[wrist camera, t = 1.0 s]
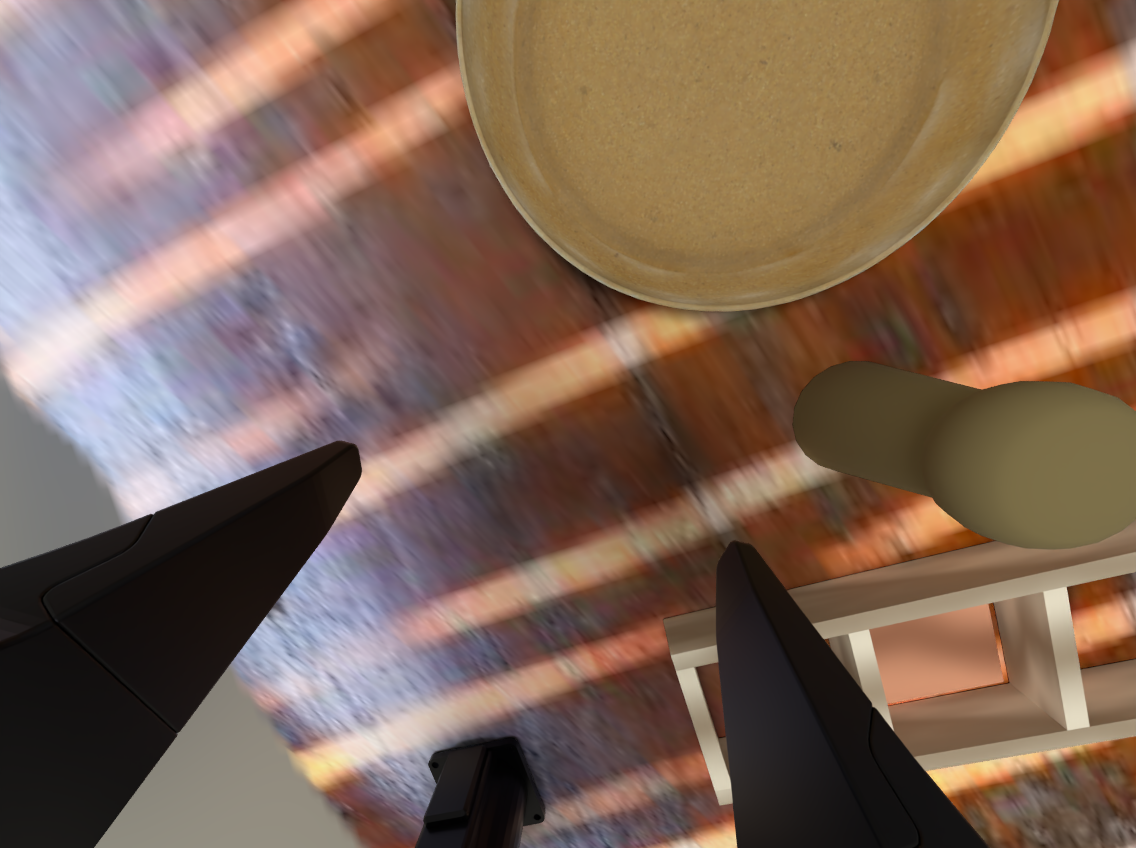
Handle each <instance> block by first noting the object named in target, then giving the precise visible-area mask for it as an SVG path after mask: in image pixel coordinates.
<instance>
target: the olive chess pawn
mask: <svg viewBox="0 0 1136 848" xmlns="http://www.w3.org/2000/svg"><path fill="white" fill-rule="evenodd" d="M793 428H794V433H795V437H796V441H797V443H798V444H799V446H800V447H801V449H802V450H803V452H804V453H805V455H806V456H808V457H809V458H810V459H812V460H813V461H814V462H816V463H817V464H818V465H820V466H823V467H826V468H829V469H832V470H835V471H838V472H842V473H846V474H849V475H853V476H857V477H860V478H864V479H867V480H871V481H875V482H878V483H882V484H885V485H889V486H893V487H896V488H900V489H903V490H907V491H911V492H914V493H918V494H921V495H925V496H929V497H932V498H933V499H934V501H935V503H936V504H937V505H938V506H939V507H941V508H942V509H943V510H944V511H945V512H946V513H947V514H949V515H950V516H951V517H952V518H954V519H955V520H956V521H958V522H959V523H960V524H962V525H963V526H964V527H966V528H968V529H970V530H972V531H974V532H976V533H977V534H979V535H982V536H984V537H987V538H990V539H993V540H996V541H999V542H1002V543H1005V544H1008V545H1013V546H1017V547H1021V548H1029V549H1050V550H1055V549H1071V548H1076V547H1081V546H1085V545H1090V544H1095V543H1098V542H1100V541H1103V540H1105V539H1107V538H1109V537H1111V536H1113V535H1115V534H1117V533H1119V532H1121V531H1123V530H1124V529H1125V528H1126V527H1128V526H1129V525H1130V524H1131V523H1132V522H1133V521H1135V520H1136V411H1134V410H1133V409H1132V408H1131V407H1129V406H1128V405H1127V404H1125V403H1124V402H1123V401H1122V400H1120V399H1119V398H1117V397H1114V396H1111V395H1108V394H1105V393H1102V392H1099V391H1096V390H1093V389H1090V388H1087V387H1083V386H1080V385H1077V384H1074V383H1066V382H1039V381H1019V382H1013V383H1008V384H1002V385H998V386H994V387H991V388H987V389H983V390H981V389H977V388H973V387H969V386H965V385H961V384H957V383H953V382H949V381H945V380H941V379H937V378H933V377H929V376H925V375H921V374H917V373H913V372H909V371H905V370H901V369H897V368H893V367H889V366H885V365H881V364H877V363H873V362H869V361H849V362H845V363H842V364H838V365H835V366H831V367H829V368H828V369H826V370H825V371H823V372H822V373H820V374H818V375H817V376H815V377H814V378H813V379H812V380H811V381H810V383H809V384H808V385H807V386H806V387H805V388H804V389H803V391H802V392H801V394H800V397H799V399H798V401H797V403H796V405H795V408H794V417H793Z"/></svg>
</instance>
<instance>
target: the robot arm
mask: <svg viewBox="0 0 1136 848" xmlns="http://www.w3.org/2000/svg"><path fill="white" fill-rule="evenodd" d="M361 473H362V467H361V461H360V455H359V450H358V447H357V446H356V445H355V444H353V443H349V442H345V441H335V442H333V443H330V444H328V445H325V446H323V447H320V448H317V449H315V450H312V451H310V452H307V453H305V454H302V455H300V456H297V457H295V458H292V459H289V460H287V461H284V462H282V463H279V464H277V465H274V466H272V467H269V468H267V469H264V470H261V471H259V472H256V473H254V474H251V475H249V476H246V477H244V478H241V479H239V480H236V481H233V482H231V483H228V484H226V485H223V486H221V487H218V488H216V489H213V490H211V491H208V492H205V493H203V494H200V495H198V496H195V497H193V498H190V499H188V500H185V501H182V502H180V503H177V504H175V505H172V506H170V507H167V508H165V509H162V510H160V511H157V512H155V513H154V515H153V514H149V515H147V516H144V517H142V518H139V519H136V520H134V521H131V522H129V523H126V524H124V525H121V526H119V527H116V528H113V529H110V530H108V531H105V532H103V533H100V534H97V535H94V536H92V537H89V538H87V539H84V540H81V541H78V542H75V543H72V544H69V545H66V546H63V547H61V548H58V549H55V550H52V551H49V552H46V553H44V554H40V555H37V556H34V557H31V558H28V559H26V560H23V561H20V562H17V563H14V564H11V565H8V566H5V567H2V568H0V848H94V847H95V846H96V844H97V843H98V842H99V840H100V839H101V838H102V836H103V835H104V834H105V832H106V831H107V830H108V828H109V827H110V825H111V824H112V823H113V821H114V820H115V819H116V817H117V816H118V815H119V813H120V812H121V811H122V809H123V808H124V807H125V805H126V804H127V803H128V801H129V800H130V799H131V797H132V796H133V795H134V793H135V792H136V791H137V789H138V788H139V786H140V785H141V784H142V783H143V781H144V780H145V778H146V777H147V776H148V774H149V773H150V772H151V770H152V769H153V768H154V766H155V765H156V763H157V762H158V761H159V760H160V758H161V757H162V756H163V754H164V753H165V752H166V750H167V749H168V748H169V746H170V745H171V743H172V742H173V741H174V739H175V738H176V737H177V735H178V734H177V733H178V732H180V731H181V729H182V728H183V727H184V726H185V724H186V723H187V722H188V720H189V719H190V717H191V716H192V715H193V713H194V712H195V711H196V709H197V708H198V707H199V705H200V704H201V703H202V701H203V700H204V699H205V697H206V696H207V695H208V693H209V692H210V691H211V689H212V688H213V686H214V685H215V684H216V683H217V681H218V680H219V678H220V677H221V676H222V674H223V673H224V672H225V670H226V669H227V668H228V666H229V665H230V664H231V662H232V661H233V660H234V658H235V657H236V656H237V654H238V653H239V652H240V650H241V649H242V648H243V646H244V645H245V644H246V642H247V641H248V639H249V638H250V637H251V635H252V634H253V633H254V631H255V630H256V629H257V627H258V626H259V625H260V623H261V622H262V621H263V619H264V618H265V617H266V615H267V614H268V613H269V611H270V610H271V609H272V607H273V606H274V605H275V603H276V602H277V601H278V599H279V598H280V596H281V595H282V594H283V592H284V591H285V590H286V588H287V587H288V586H289V584H290V583H291V582H292V580H293V579H294V578H295V576H296V575H297V574H298V572H299V571H300V570H301V568H302V567H303V566H304V564H305V563H306V562H307V560H308V559H309V557H310V556H311V555H312V553H313V552H314V551H315V549H316V548H317V547H318V545H319V544H320V543H321V541H322V540H323V539H324V537H325V536H326V534H327V533H328V531H329V530H330V528H331V527H332V525H333V523H334V522H335V520H336V518H337V517H338V515H339V513H340V511H341V510H342V508H343V506H344V505H345V503H346V501H347V500H348V498H349V496H350V495H351V493H352V491H353V489H354V488H355V486H356V484H357V483H358V481H359V479H360V477H361ZM716 644H717V654H718V664H719V674H720V683H721V693H722V703H723V713H724V722H725V732H726V742H727V751H728V761H729V771H730V781H731V790H732V800H733V810H734V820H735V829H736V839H737V848H990V847H989V846H988V845H987V844H986V842H985V841H984V840H983V839H982V838H981V837H980V835H979V834H978V833H977V832H976V831H975V830H974V828H973V827H972V826H971V825H970V824H969V822H968V821H967V820H966V819H965V818H964V817H963V815H962V814H961V813H960V812H959V811H958V810H957V808H956V807H955V806H954V805H953V804H952V802H951V801H950V800H949V799H948V798H947V796H946V795H945V794H944V793H943V792H942V790H941V789H940V788H939V787H938V786H937V784H936V783H935V782H934V781H933V780H932V778H931V777H930V776H929V775H928V774H927V772H926V771H925V770H924V769H923V768H922V766H921V765H920V764H919V763H918V761H917V760H916V759H915V758H914V756H913V755H912V754H911V752H910V751H909V750H908V749H907V747H906V746H905V745H904V744H903V742H902V741H901V740H900V738H899V737H898V736H897V735H896V733H895V732H894V731H893V729H892V728H891V727H890V726H889V724H888V723H887V722H886V720H885V719H884V718H883V716H882V715H881V714H880V712H879V711H878V710H877V708H875V707H872V702H871V701H870V699H869V698H868V697H867V695H866V694H865V693H864V692H863V690H862V689H861V688H860V686H859V685H858V684H857V682H856V681H855V680H854V678H853V677H852V676H851V674H850V673H849V672H848V670H847V669H846V668H845V666H844V665H843V664H842V663H841V661H840V660H839V659H838V657H837V656H836V655H835V653H834V652H833V651H832V649H831V648H830V647H829V645H828V644H827V643H826V641H825V640H824V639H823V637H822V636H821V635H820V634H819V632H818V631H817V630H816V628H815V627H814V626H813V624H812V623H811V622H810V620H809V619H808V618H807V616H806V615H805V614H804V612H803V611H802V610H801V609H800V607H799V606H798V605H797V603H796V602H795V601H794V599H793V598H792V597H791V595H790V594H789V593H788V591H787V590H786V589H785V587H784V586H783V585H782V583H781V582H780V581H779V580H778V578H777V577H776V576H775V574H774V573H773V572H772V570H771V569H770V568H769V566H768V565H767V564H766V562H765V561H764V560H763V558H762V557H761V556H760V554H759V553H758V552H757V551H756V549H755V548H754V547H753V546H752V545H751V544H748V543H744V542H741V541H737V540H734V541H732V542H731V543H730V544H729V545H728V547H727V548H726V550H725V552H724V553H723V555H722V556H721V558H720V559H719V561H718V564H717V568H716ZM511 747H512V748H511ZM428 765H429V768H430V770H431V773H432V775H433V777H434V779H435V782H436V784H437V785H436V788H435V790H434V793H433V795H432V798H431V800H430V803H429V806H428V808H427V811H426V813H425V816H424V819H423V821H424V825H423V828H422V831H421V833H420V836H419V838H418V841H417V844H416V846H415V848H519V845H520V840H521V834H522V828H523V826H526V825H532V824H538V823H541V822H543V821H544V819H545V808H544V806H543V803H542V801H541V798H540V796H539V793H538V791H537V788H536V786H535V783H534V781H533V778H532V776H531V773H530V771H529V768H528V766H527V763H526V761H525V758H524V756H523V753H522V751H521V748H520V746H519V743H518V742H517V741H516V740H515V739H513V738H508V739H503V740H498V741H494V742H489V743H484V744H479V745H474V746H469V747H464V748H459V749H455V750H450V751H445V752H440V753H435V754H433V755H432V756H431V758H430V761H429V763H428Z"/></svg>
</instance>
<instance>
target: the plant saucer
mask: <svg viewBox="0 0 1136 848" xmlns="http://www.w3.org/2000/svg"><path fill="white" fill-rule="evenodd" d="M1058 2H1059V0H456V34H457V48H458V57H459V65H460V72H461V77H462V82H463V87H464V91H465V96H466V100H467V104H468V108H469V111H470V115H471V118H472V121H473V124H474V127H475V130H476V133H477V135H478V138H479V141H480V143H481V146H482V148H483V150H484V153H485V155H486V157H487V160H488V162H489V164H490V166H491V168H492V170H493V172H494V173H495V175H496V177H497V179H498V180H499V182H500V184H501V186H502V187H503V189H504V191H505V192H506V194H507V195H508V197H509V198H510V200H511V202H512V203H513V205H514V206H515V207H516V209H517V210H518V211H519V212H520V214H521V215H522V216H523V218H524V219H525V220H526V221H527V222H528V224H529V225H530V226H531V227H532V228H533V229H534V231H535V232H536V233H537V234H538V235H539V236H540V237H541V238H542V239H543V240H544V241H545V242H546V243H547V244H548V245H550V246H551V247H552V248H553V249H554V250H555V251H556V252H557V253H558V254H560V255H561V256H562V257H563V258H564V259H566V260H567V261H568V262H570V263H571V264H572V265H574V266H575V267H577V268H578V269H579V270H581V271H582V272H584V273H585V274H587V275H589V276H590V277H592V278H594V279H595V280H597V281H599V282H601V283H602V284H604V285H606V286H608V287H610V288H612V289H615V290H617V291H619V292H622V293H624V294H627V295H629V296H632V297H634V298H637V299H640V300H644V301H647V302H651V303H654V304H658V305H663V306H667V307H672V308H678V309H685V310H696V311H741V310H751V309H758V308H764V307H770V306H775V305H779V304H784V303H788V302H791V301H795V300H798V299H802V298H805V297H807V296H810V295H813V294H816V293H818V292H821V291H823V290H826V289H828V288H830V287H833V286H835V285H837V284H840V283H842V282H844V281H846V280H848V279H850V278H852V277H854V276H856V275H857V274H859V273H861V272H863V271H865V270H867V269H869V268H870V267H872V266H873V265H875V264H876V263H878V262H879V261H881V260H882V259H884V258H885V257H887V256H888V255H890V254H891V253H892V252H894V251H895V250H897V249H898V248H900V247H901V246H903V245H904V244H905V243H906V242H908V241H909V240H910V239H911V238H913V237H914V236H915V235H916V234H918V233H919V232H920V231H921V230H922V229H924V228H925V227H926V226H927V225H928V224H929V223H930V222H931V221H932V220H934V219H935V218H936V217H937V216H938V215H939V214H940V213H941V212H942V211H943V210H944V209H945V208H946V207H947V206H948V205H949V204H950V203H951V202H952V201H953V200H954V199H955V198H956V196H957V195H958V194H959V193H960V192H961V191H962V190H963V189H964V188H965V186H966V185H967V184H968V183H969V182H970V181H971V179H972V178H973V177H974V175H975V174H976V173H977V171H978V170H979V169H980V168H981V166H982V165H983V164H984V162H985V161H986V160H987V158H988V157H989V155H990V154H991V152H992V151H993V150H994V148H995V147H996V145H997V144H998V142H999V141H1000V139H1001V138H1002V136H1003V134H1004V133H1005V131H1006V130H1007V128H1008V126H1009V124H1010V123H1011V121H1012V119H1013V117H1014V116H1015V114H1016V112H1017V110H1018V108H1019V106H1020V104H1021V102H1022V100H1023V98H1024V96H1025V94H1026V92H1027V90H1028V88H1029V86H1030V84H1031V82H1032V80H1033V77H1034V75H1035V72H1036V70H1037V67H1038V65H1039V62H1040V60H1041V57H1042V55H1043V52H1044V49H1045V46H1046V43H1047V41H1048V38H1049V35H1050V31H1051V27H1052V23H1053V19H1054V15H1055V12H1056V9H1057V5H1058Z"/></svg>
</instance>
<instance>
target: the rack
mask: <svg viewBox="0 0 1136 848" xmlns="http://www.w3.org/2000/svg"><path fill="white" fill-rule="evenodd" d="M1132 572H1136V520H1135V521H1133V522H1132V523H1131V524H1130V525H1129V526H1128V527H1126V528H1125V529H1124V530H1123V531H1121V532H1119V533H1117V534H1115V535H1113V536H1111V537H1109V538H1107V539H1105V540H1103V541H1100V542H1098V543H1095V544H1090V545H1085V546H1081V547H1076V548H1071V549H1055V550H1050V549H1029V548H1021V547H1017V546H1013V545H1008V544H1005V543H1002V542H999V541H993V542H989V543H985V544H981V545H976V546H972V547H968V548H964V549H959V550H955V551H951V552H947V553H942V554H938V555H934V556H930V557H925V558H921V559H917V560H913V561H908V562H904V563H900V564H896V565H891V566H887V567H883V568H879V569H874V570H870V571H866V572H862V573H857V574H853V575H849V576H845V577H841V578H836V579H832V580H828V581H824V582H819V583H815V584H811V585H807V586H802V587H798V588H794V589H790V590H787V591H788V593H789V594H790V595H791V597H792V598H793V599H794V601H795V602H796V603H797V605H798V606H799V607H800V609H801V610H802V611H803V612H804V614H805V615H806V616H807V618H808V619H809V620H810V622H811V623H812V624H813V626H814V627H815V628H816V630H817V631H818V632H819V634H820V635H821V636H822V637H823V639H827V638H829V642H830V646H831V649H832V651H833V652H834V653H835V655H836V656H837V657H838V659H839V660H840V661H841V663H842V664H843V665H844V666H845V668H846V669H847V670H848V672H849V673H850V674H851V676H852V677H853V678H854V680H855V681H856V682H857V684H858V685H859V686H860V688H861V689H862V690H863V692H864V693H865V694H866V695H867V697H868V698H869V699H870V701H871V702H872V707H875V708H877V710H878V711H879V712H880V714H881V715H882V716H883V718H884V719H885V720H886V722H887V723H888V724H889V726H890V727H891V728H892V729H893V731H894V732H895V733H896V735H897V736H898V737H899V738H900V740H901V741H902V742H903V744H904V745H905V746H906V747H907V749H908V750H909V751H910V752H911V754H912V755H913V756H914V758H915V759H916V760H917V761H918V763H919V764H920V765H921V766H922V768H923V769H924V770H925V771H929V770H935V769H941V768H947V767H953V766H959V765H965V764H971V763H977V762H983V761H989V760H995V759H1001V758H1007V757H1013V756H1019V755H1025V754H1031V753H1037V752H1043V751H1049V750H1055V749H1061V748H1067V747H1073V746H1079V745H1085V744H1091V743H1097V742H1103V741H1109V740H1115V739H1121V738H1127V737H1133V736H1136V659H1134V660H1129V661H1123V662H1118V663H1113V664H1108V665H1102V666H1097V667H1092V668H1087V669H1081V670H1080V665H1079V659H1078V653H1077V647H1076V641H1075V635H1074V629H1073V623H1072V617H1071V611H1070V605H1069V599H1068V593H1067V586H1072V585H1077V584H1081V583H1086V582H1090V581H1095V580H1100V579H1104V578H1109V577H1114V576H1118V575H1123V574H1127V573H1132ZM993 602H994V606H995V611H996V616H997V621H998V626H999V632H1000V637H1001V642H1002V647H1003V652H1004V657H1005V662H1006V667H1007V673H1008V678H1009V683H1008V684H1002V685H997V686H992V687H987V688H981V689H976V690H971V691H965V692H960V693H955V694H950V695H944V696H939V697H934V698H929V699H923V700H918V701H913V702H908V703H902V704H897V705H892V706H888V705H887V704H890V703H895V702H900V701H905V700H911V699H916V698H921V697H926V696H931V695H937V694H942V693H947V692H952V691H958V690H963V689H968V688H973V687H979V686H984V685H989V684H994V683H1000V682H1004V681H1003V676H1002V671H1001V665H1000V660H999V655H998V650H997V645H996V640H995V635H994V630H993V625H992V620H991V615H990V610H989V605H988V604H989V603H993ZM663 622H664V626H665V631H666V636H667V640H668V645H669V649H670V654H671V658H672V661H673V664H674V667H675V670H676V673H677V676H678V679H679V682H680V685H681V688H682V691H683V694H684V697H685V700H686V703H687V706H688V710H689V713H690V716H691V719H692V722H693V725H694V728H695V731H696V734H697V737H698V740H699V743H700V746H701V749H702V752H703V755H704V758H705V762H706V765H707V768H708V771H709V774H710V777H711V780H712V783H713V786H714V789H715V792H716V795H717V798H718V801H719V804H720V805H725V804H731V803H733V800H732V790H731V781H730V771H729V761H728V751H727V742H726V737H723V738H718V736H717V733H716V730H715V727H714V724H713V721H712V718H711V714H710V711H709V708H708V705H707V702H706V699H705V696H704V692H703V689H702V686H701V683H700V680H699V677H698V674H697V670H696V667H698V666H702V665H707V664H712V663H716V662H718V654H717V644H716V607H713V608H709V609H705V610H701V611H696V612H692V613H688V614H684V615H679V616H675V617H671V618H667V619H663Z"/></svg>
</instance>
